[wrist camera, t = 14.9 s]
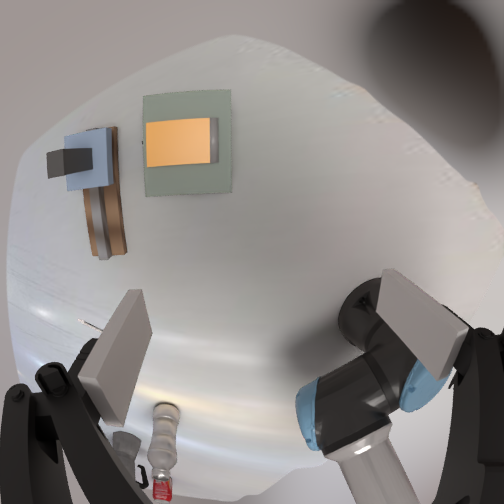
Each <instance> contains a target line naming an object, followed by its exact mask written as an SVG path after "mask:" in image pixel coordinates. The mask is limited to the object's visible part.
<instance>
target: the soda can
mask: <svg viewBox="0 0 504 504" xmlns="http://www.w3.org/2000/svg"><path fill="white" fill-rule="evenodd" d="M153 498H154V501H155V502H157V503H161V504H169V503H170V501H171V499H172V479H171V478H169V481H158V480H155V479H154V482H153Z"/></svg>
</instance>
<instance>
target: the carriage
mask: <svg viewBox="0 0 504 504" xmlns="http://www.w3.org/2000/svg"><path fill="white" fill-rule="evenodd" d="M64 141H65V149H60V150H56V151H52V152H48V153H47V172H48V179H49V178H53V177H58V176H64V175H66V181H67V191H72V190H79V189H86V188H93V187H100V186H108V185H111V184H114V181H113V165H112V128H101V129H96V130H91V131H86V132H81V133H77V134H73V135H69V136H65V137H64Z"/></svg>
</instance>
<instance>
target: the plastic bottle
mask: <svg viewBox="0 0 504 504" xmlns="http://www.w3.org/2000/svg"><path fill="white" fill-rule="evenodd" d="M179 420H180V415H179V411H178V410H177V409H176V408H175V407H174V406H172V405H169V404H160V405H158V406H157V407H155V409H154V411H153V434H152V439H151V444H150V447H149V450H148V454H147V457H148V460H149V462H150V464H151V465H152V467H153V469H152V478H153V479H155V480H158V481H169V478H170V471H169V470H170V469H172V468H173V467H174V466H175V464H176V462H177V452H176V432H177V426H178V424H179Z"/></svg>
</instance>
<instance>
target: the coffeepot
mask: <svg viewBox="0 0 504 504" xmlns="http://www.w3.org/2000/svg"><path fill="white" fill-rule="evenodd" d="M140 444H141V441H140V439H138V438H137V437H136V436H134V435H132V434H130V433H126V432H120V431H119V432H115V433H113V449H114V451H115V452H116V454H117V455H118V457H119V459H120V460H121V462H122V463H123V465H124V466H125V467H126V469H127V470H128V472H129V473H130V475H131V476H132V477H133V479H134V480H135V463H134V461H135V459H136V456H137V453H138V451H139V448H140ZM137 467H139V468H141V475H142V481H143V484H141V483H139V482H137V481H136V483H137V484H138V485H139V487H140V488H141V489H145V488H147V487H148V486H149V483H148V480H147V476H146V472H145V468H144V467H143V466H141V465H138V466H137Z"/></svg>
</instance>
